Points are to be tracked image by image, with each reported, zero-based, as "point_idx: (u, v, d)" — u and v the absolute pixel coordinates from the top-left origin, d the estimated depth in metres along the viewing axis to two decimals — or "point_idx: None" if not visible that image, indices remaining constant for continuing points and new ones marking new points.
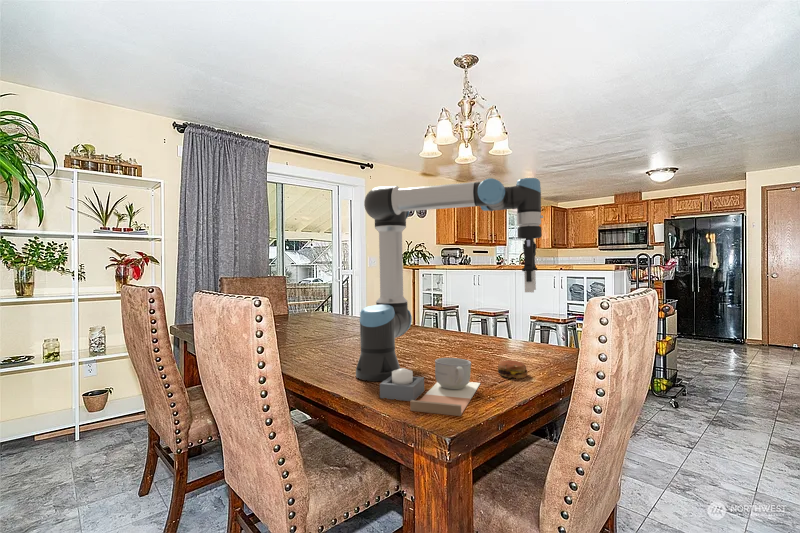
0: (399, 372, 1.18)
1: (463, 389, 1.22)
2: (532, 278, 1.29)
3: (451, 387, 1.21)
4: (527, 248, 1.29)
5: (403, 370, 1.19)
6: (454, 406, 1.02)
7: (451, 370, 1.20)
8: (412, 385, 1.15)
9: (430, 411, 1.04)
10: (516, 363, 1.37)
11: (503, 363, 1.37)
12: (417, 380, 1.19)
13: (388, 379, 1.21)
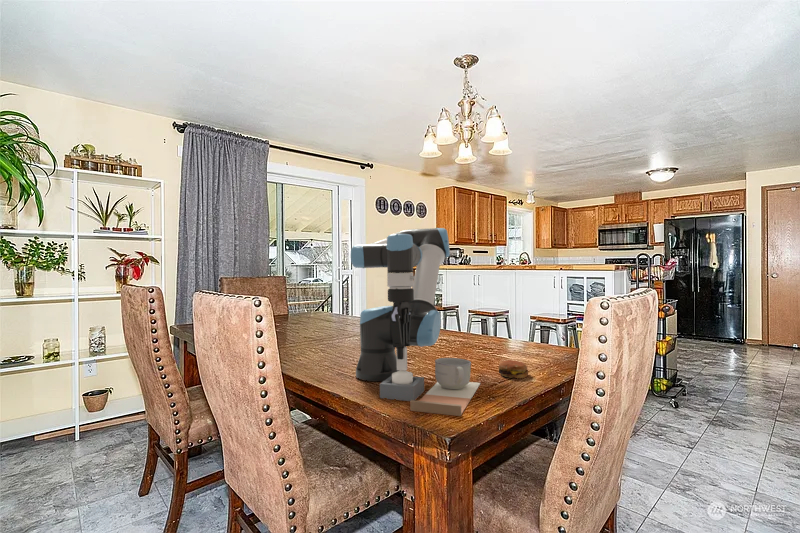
0: (399, 374, 1.18)
1: (463, 389, 1.22)
2: (404, 355, 1.19)
3: (451, 387, 1.21)
4: (393, 324, 1.15)
5: (403, 372, 1.19)
6: (454, 406, 1.02)
7: (451, 370, 1.20)
8: (412, 385, 1.15)
9: (430, 411, 1.04)
10: (516, 363, 1.37)
11: (504, 363, 1.37)
12: (417, 380, 1.19)
13: (388, 379, 1.21)
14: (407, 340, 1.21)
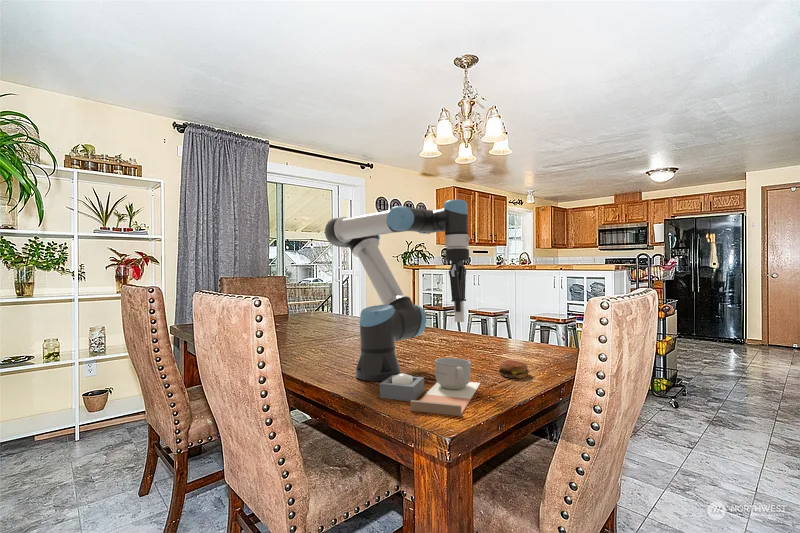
0: (399, 377, 1.18)
1: (463, 389, 1.22)
2: (461, 308, 1.32)
3: (451, 387, 1.21)
4: (452, 279, 1.29)
5: (403, 375, 1.19)
6: (454, 406, 1.02)
7: (451, 370, 1.20)
8: (412, 385, 1.15)
9: (430, 411, 1.04)
10: (517, 363, 1.37)
11: (504, 363, 1.37)
12: (417, 380, 1.19)
13: (388, 379, 1.21)
14: (463, 295, 1.35)
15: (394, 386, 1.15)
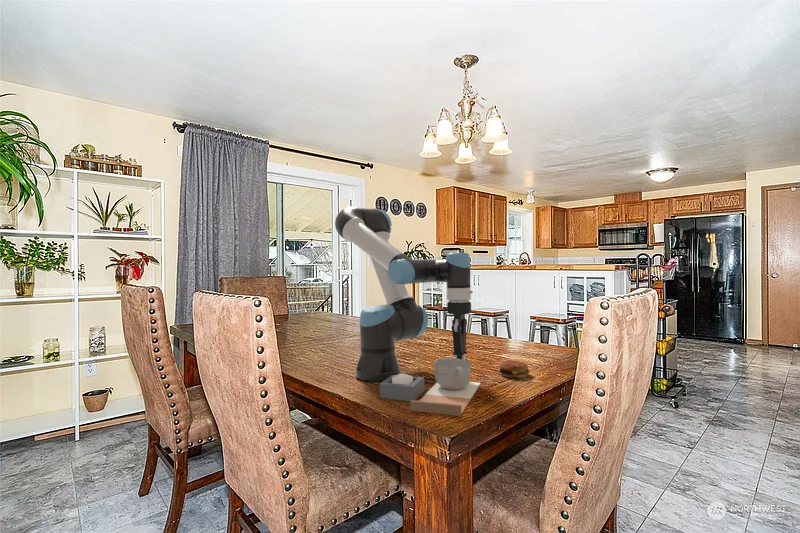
0: (399, 377, 1.18)
1: (463, 389, 1.22)
2: None
3: (451, 387, 1.21)
4: (455, 334, 1.28)
5: (403, 375, 1.19)
6: (454, 406, 1.02)
7: (451, 370, 1.20)
8: (412, 385, 1.15)
9: (430, 411, 1.04)
10: (517, 363, 1.37)
11: (504, 363, 1.38)
12: (417, 380, 1.19)
13: (388, 379, 1.21)
14: (464, 348, 1.33)
15: (394, 386, 1.15)
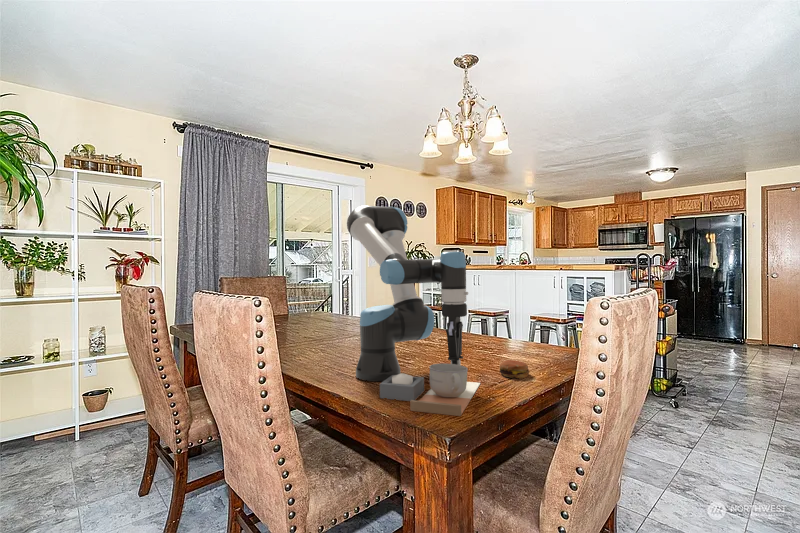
0: (399, 377, 1.18)
1: None
2: None
3: (447, 395, 1.14)
4: (450, 338, 1.21)
5: (403, 375, 1.19)
6: (454, 406, 1.02)
7: (447, 377, 1.13)
8: (412, 385, 1.15)
9: (430, 411, 1.04)
10: (517, 363, 1.37)
11: (505, 363, 1.38)
12: (417, 380, 1.19)
13: (388, 379, 1.21)
14: (460, 353, 1.27)
15: (394, 386, 1.15)
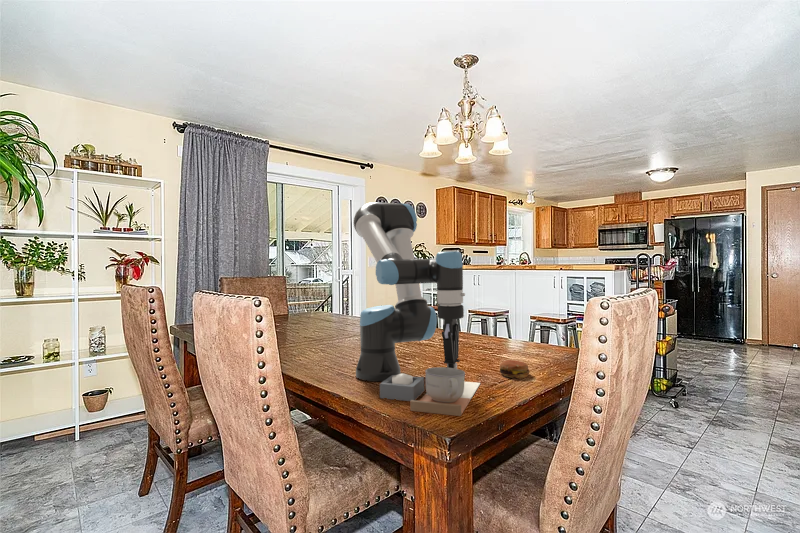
0: (399, 377, 1.18)
1: None
2: None
3: (443, 400, 1.09)
4: (446, 341, 1.16)
5: (403, 375, 1.19)
6: (454, 406, 1.02)
7: (444, 382, 1.08)
8: (412, 385, 1.15)
9: (430, 411, 1.04)
10: (518, 363, 1.37)
11: (505, 363, 1.38)
12: (417, 380, 1.19)
13: (388, 379, 1.21)
14: (456, 356, 1.22)
15: (394, 386, 1.15)
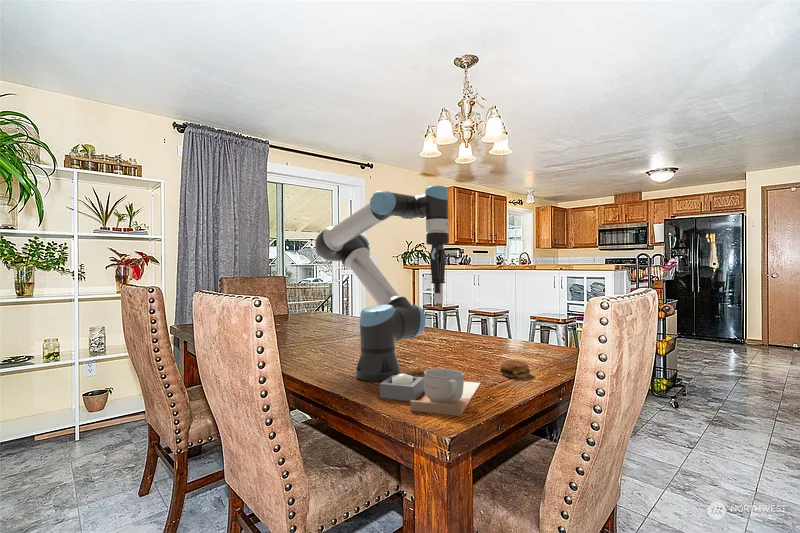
0: (399, 377, 1.18)
1: (463, 389, 1.22)
2: (440, 290, 1.38)
3: (443, 402, 1.08)
4: (432, 261, 1.35)
5: (403, 375, 1.19)
6: (454, 406, 1.02)
7: (443, 383, 1.07)
8: (412, 385, 1.15)
9: (430, 411, 1.04)
10: (518, 362, 1.38)
11: (505, 363, 1.38)
12: (417, 380, 1.19)
13: (388, 379, 1.21)
14: (442, 278, 1.41)
15: (394, 386, 1.15)
